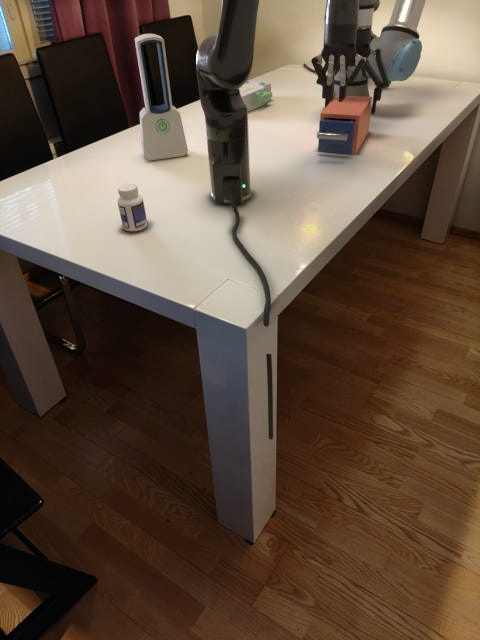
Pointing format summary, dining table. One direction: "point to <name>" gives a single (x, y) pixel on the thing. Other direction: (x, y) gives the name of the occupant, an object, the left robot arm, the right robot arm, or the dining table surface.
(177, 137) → the electronic device
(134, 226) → the pill bottle
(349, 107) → the cabinet
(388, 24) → the right robot arm
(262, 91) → the decorative block
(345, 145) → the drawer
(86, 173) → the dining table surface
